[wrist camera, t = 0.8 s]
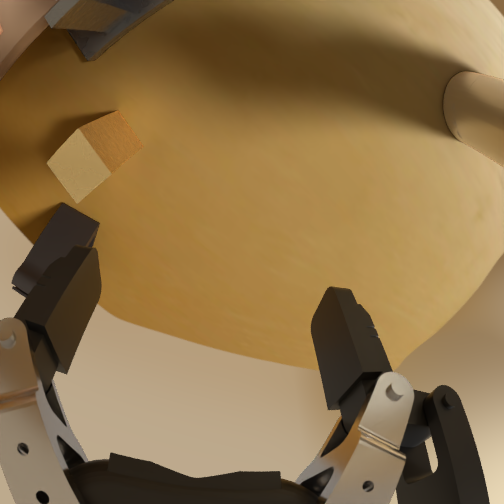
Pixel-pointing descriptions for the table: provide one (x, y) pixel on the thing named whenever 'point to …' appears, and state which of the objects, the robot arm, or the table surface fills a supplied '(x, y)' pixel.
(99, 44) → the pivot stand
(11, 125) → the table surface
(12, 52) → the beam
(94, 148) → the beige rectangular block
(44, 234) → the phone stand
